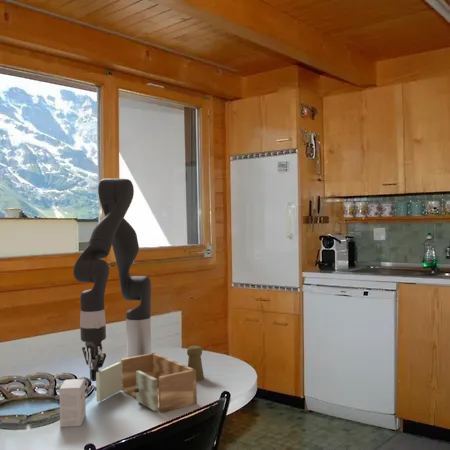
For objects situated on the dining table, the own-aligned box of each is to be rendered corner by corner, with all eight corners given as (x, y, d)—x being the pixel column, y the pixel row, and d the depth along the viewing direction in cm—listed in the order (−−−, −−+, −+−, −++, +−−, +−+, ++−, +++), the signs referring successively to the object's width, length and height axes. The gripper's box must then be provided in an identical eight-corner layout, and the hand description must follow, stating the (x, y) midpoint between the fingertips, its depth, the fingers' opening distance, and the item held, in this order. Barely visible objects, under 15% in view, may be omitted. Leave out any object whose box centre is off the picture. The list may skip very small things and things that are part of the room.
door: (117, 388, 171) (116, 361, 171) (123, 389, 171) (122, 361, 170) (93, 401, 160) (93, 371, 160) (100, 401, 159) (99, 372, 159)
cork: (201, 381, 179) (200, 348, 179) (184, 380, 180) (183, 348, 180) (205, 376, 185) (205, 344, 185) (189, 375, 186) (188, 344, 186)
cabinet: (114, 391, 170) (113, 360, 170) (154, 382, 179) (154, 352, 179) (153, 414, 149) (152, 379, 149) (196, 403, 158) (196, 369, 158)
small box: (65, 416, 150) (65, 379, 150) (86, 415, 150) (85, 378, 150) (59, 427, 142) (58, 388, 142) (80, 426, 142) (79, 387, 142)
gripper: (72, 322, 165) (74, 377, 166) (90, 330, 155) (91, 388, 156) (95, 319, 170) (97, 372, 171) (113, 326, 159) (115, 383, 160)
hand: (94, 380), depth 163 cm, fingers closed
